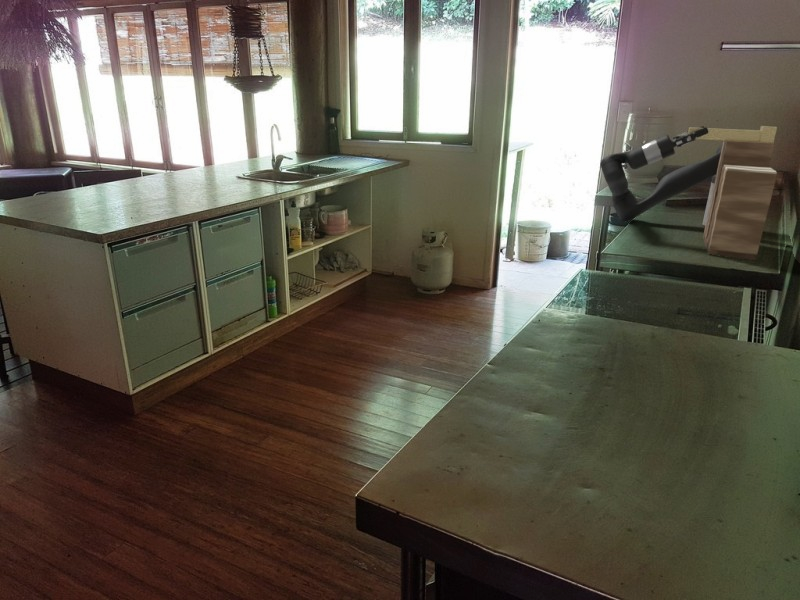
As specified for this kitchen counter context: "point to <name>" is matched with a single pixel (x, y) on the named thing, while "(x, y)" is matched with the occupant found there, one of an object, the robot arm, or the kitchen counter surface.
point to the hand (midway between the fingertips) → (706, 129)
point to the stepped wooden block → (740, 199)
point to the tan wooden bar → (739, 134)
